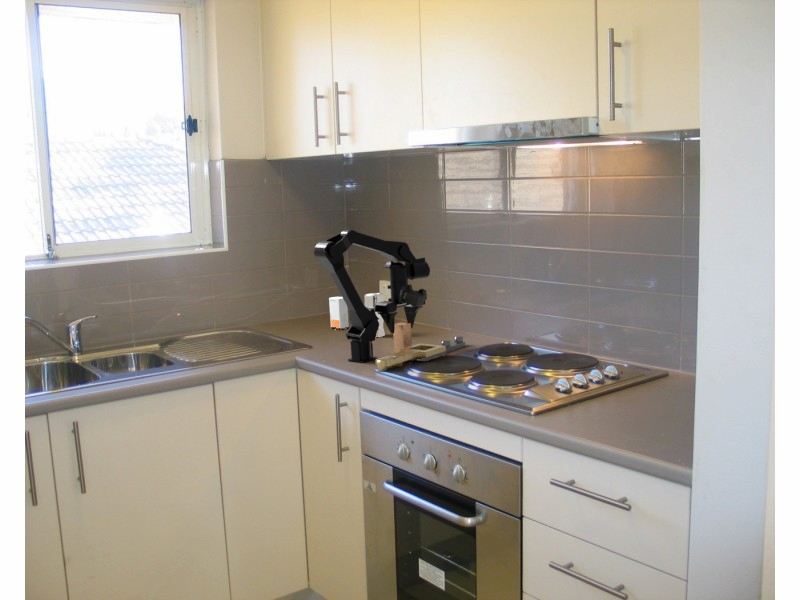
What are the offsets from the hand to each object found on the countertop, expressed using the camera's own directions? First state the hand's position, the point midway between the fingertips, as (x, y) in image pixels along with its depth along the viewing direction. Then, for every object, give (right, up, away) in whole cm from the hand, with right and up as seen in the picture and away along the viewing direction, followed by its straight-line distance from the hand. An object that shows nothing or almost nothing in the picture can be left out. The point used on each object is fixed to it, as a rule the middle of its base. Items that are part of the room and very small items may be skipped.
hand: (401, 330), depth 257 cm
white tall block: (-9, -3, +30) cm, 32 cm away
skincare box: (-23, -1, +50) cm, 55 cm away
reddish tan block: (0, -7, +1) cm, 7 cm away
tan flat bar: (+6, -8, -9) cm, 14 cm away
